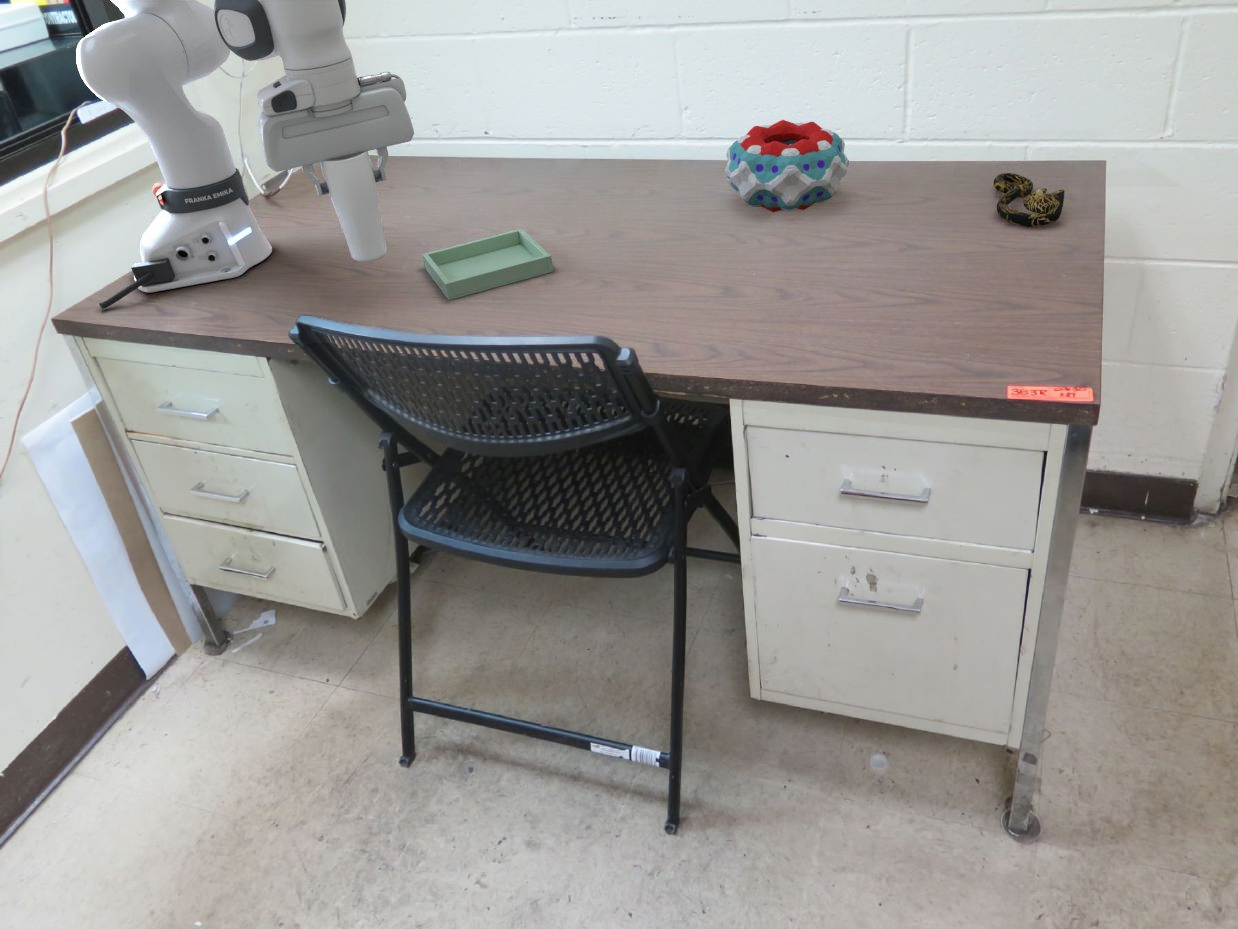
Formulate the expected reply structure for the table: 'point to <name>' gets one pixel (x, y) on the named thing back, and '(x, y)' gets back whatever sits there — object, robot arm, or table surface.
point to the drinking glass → (356, 204)
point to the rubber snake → (1027, 201)
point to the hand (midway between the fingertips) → (351, 187)
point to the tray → (487, 263)
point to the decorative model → (786, 165)
